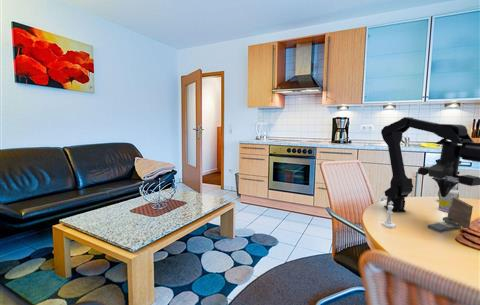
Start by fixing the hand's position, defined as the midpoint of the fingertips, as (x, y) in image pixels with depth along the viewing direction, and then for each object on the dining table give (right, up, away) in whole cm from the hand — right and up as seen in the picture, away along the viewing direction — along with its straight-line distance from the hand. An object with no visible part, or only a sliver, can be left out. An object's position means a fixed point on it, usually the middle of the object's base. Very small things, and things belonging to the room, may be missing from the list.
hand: (443, 196), depth 98 cm
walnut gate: (+7, -11, +2) cm, 13 cm away
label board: (+2, -12, +2) cm, 12 cm away
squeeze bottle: (+27, -9, +32) cm, 43 cm away
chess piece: (-21, -12, +1) cm, 24 cm away
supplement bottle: (+18, -10, +20) cm, 28 cm away
